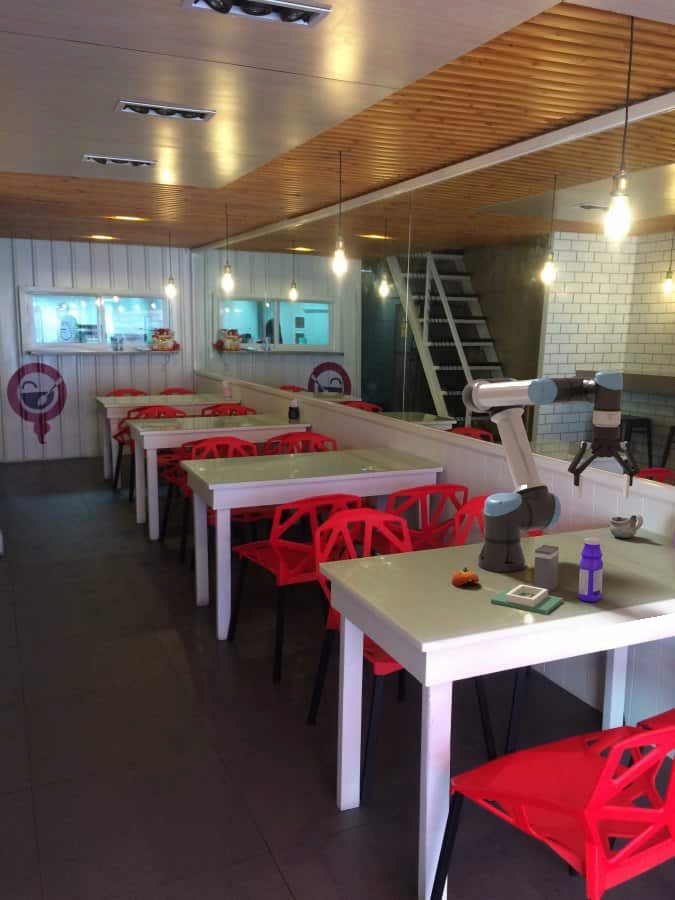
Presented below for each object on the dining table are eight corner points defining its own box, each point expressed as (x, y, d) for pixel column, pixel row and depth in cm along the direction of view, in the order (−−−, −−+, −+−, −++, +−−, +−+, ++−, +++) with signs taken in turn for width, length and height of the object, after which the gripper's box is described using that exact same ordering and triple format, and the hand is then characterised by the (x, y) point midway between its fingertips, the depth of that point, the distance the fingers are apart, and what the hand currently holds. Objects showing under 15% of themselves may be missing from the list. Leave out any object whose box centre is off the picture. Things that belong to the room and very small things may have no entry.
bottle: (584, 593, 209) (586, 534, 207) (604, 597, 205) (607, 537, 203) (575, 600, 203) (577, 539, 201) (595, 604, 200) (597, 543, 198)
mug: (617, 533, 278) (618, 507, 277) (649, 539, 269) (650, 512, 268) (604, 537, 272) (605, 511, 271) (636, 543, 263) (637, 516, 261)
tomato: (486, 578, 219) (475, 564, 216) (479, 597, 216) (468, 583, 212) (463, 577, 225) (453, 563, 221) (456, 596, 221) (445, 582, 217)
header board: (490, 602, 202) (491, 592, 202) (508, 591, 212) (508, 581, 212) (546, 614, 193) (547, 603, 193) (562, 601, 203) (562, 591, 202)
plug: (533, 589, 213) (534, 550, 211) (543, 582, 219) (544, 544, 218) (549, 592, 210) (550, 552, 209) (558, 585, 217) (559, 546, 215)
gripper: (566, 426, 207) (563, 499, 210) (655, 427, 206) (650, 500, 210) (559, 423, 214) (555, 494, 218) (644, 423, 214) (639, 494, 217)
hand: (602, 497), depth 214 cm, fingers open, 13 cm apart
